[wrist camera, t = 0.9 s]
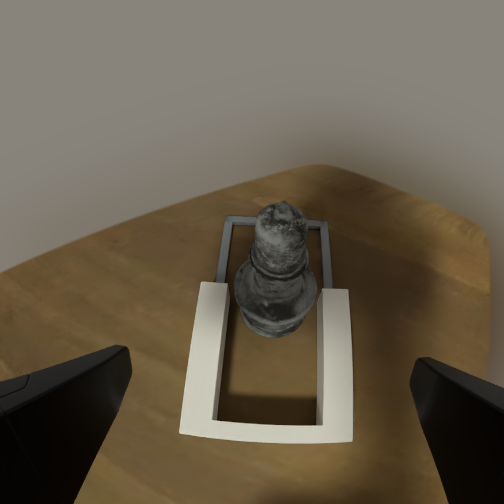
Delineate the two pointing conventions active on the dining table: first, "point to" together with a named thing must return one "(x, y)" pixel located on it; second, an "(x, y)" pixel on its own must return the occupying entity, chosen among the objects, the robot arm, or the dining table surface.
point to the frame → (251, 221)
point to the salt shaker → (276, 273)
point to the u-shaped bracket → (328, 374)
